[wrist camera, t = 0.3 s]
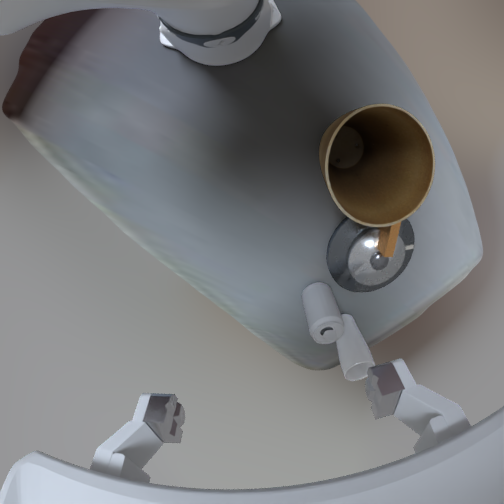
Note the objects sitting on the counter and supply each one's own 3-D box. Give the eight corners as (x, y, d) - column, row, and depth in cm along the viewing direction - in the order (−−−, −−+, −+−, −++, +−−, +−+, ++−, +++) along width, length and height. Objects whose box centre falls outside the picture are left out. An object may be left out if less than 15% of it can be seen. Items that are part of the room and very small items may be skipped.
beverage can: (321, 274, 54) (336, 315, 44) (335, 294, 57) (351, 334, 46) (295, 290, 56) (304, 333, 46) (310, 308, 59) (321, 350, 48)
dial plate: (323, 212, 48) (326, 215, 46) (415, 200, 46) (418, 202, 45) (327, 296, 57) (329, 300, 56) (406, 279, 56) (409, 283, 54)
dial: (392, 278, 53) (402, 293, 49) (341, 280, 53) (348, 297, 49) (410, 209, 46) (424, 221, 41) (354, 206, 45) (365, 219, 41)
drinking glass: (355, 327, 62) (373, 376, 49) (328, 333, 63) (342, 384, 50) (357, 307, 59) (378, 357, 46) (328, 313, 60) (344, 365, 47)
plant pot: (382, 185, 45) (429, 222, 31) (302, 191, 46) (326, 232, 32) (381, 103, 38) (437, 109, 24) (295, 103, 38) (321, 102, 24)
